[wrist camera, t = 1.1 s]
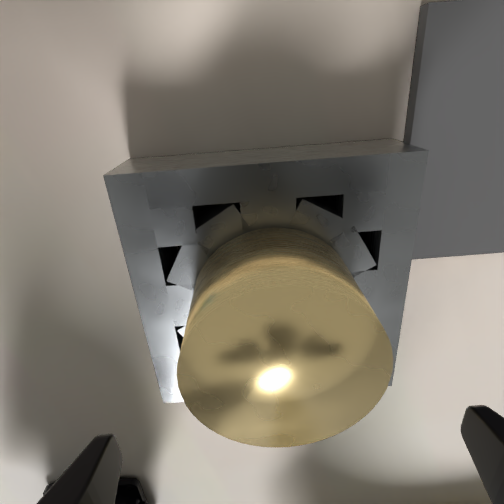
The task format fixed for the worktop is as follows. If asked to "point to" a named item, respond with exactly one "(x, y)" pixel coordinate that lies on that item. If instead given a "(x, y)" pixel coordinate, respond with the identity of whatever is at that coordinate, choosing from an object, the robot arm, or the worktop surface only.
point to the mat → (459, 127)
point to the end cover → (281, 342)
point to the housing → (264, 223)
